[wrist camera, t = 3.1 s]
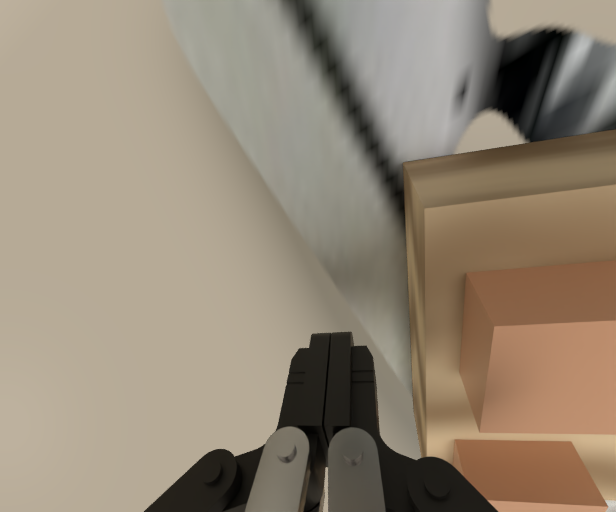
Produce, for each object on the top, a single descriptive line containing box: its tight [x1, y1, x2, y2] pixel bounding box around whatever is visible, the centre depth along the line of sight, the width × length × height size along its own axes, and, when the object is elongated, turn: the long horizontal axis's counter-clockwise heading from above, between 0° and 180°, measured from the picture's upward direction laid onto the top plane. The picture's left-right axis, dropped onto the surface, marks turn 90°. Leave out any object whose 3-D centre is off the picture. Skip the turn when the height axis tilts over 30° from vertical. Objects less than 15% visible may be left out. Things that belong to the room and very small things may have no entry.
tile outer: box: [453, 439, 608, 512], centre depth 15 cm, size 5×5×2 cm
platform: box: [403, 129, 616, 500], centre depth 15 cm, size 18×10×5 cm, turn 11°
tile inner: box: [459, 260, 616, 435], centre depth 10 cm, size 5×5×2 cm
